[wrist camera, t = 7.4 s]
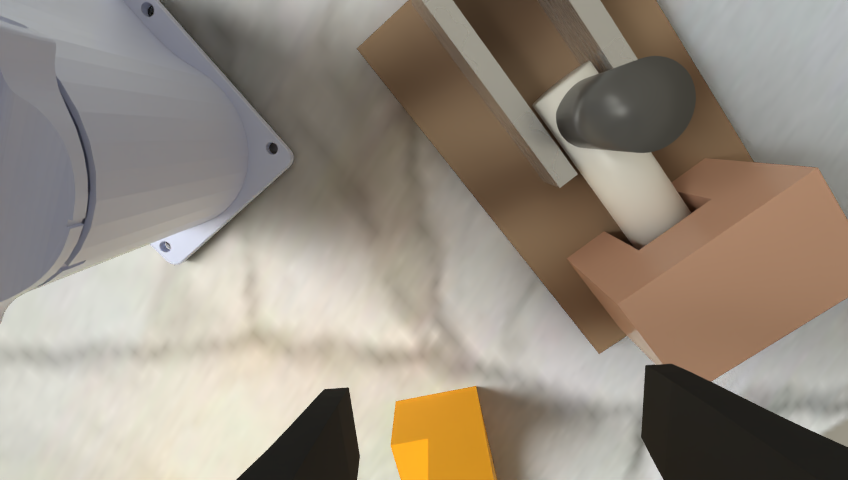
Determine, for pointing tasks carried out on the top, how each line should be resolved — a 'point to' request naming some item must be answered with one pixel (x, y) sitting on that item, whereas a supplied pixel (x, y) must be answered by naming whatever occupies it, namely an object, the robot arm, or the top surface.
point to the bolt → (624, 137)
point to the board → (532, 76)
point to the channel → (585, 36)
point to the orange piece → (442, 438)
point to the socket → (726, 266)
